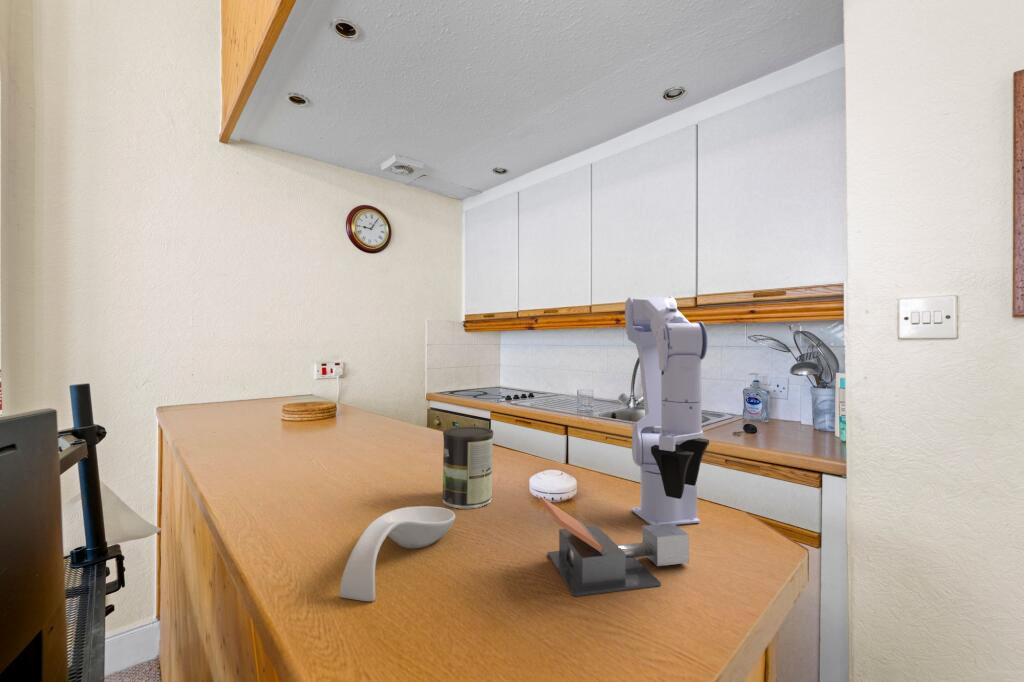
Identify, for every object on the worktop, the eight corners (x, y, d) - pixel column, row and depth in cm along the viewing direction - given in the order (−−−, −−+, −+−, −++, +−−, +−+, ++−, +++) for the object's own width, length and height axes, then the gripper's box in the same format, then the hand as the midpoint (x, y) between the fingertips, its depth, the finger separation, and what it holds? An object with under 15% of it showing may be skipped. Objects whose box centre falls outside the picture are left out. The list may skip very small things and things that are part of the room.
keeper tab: (578, 527, 63) (581, 522, 63) (605, 557, 54) (609, 550, 54) (537, 500, 61) (540, 495, 62) (557, 525, 52) (561, 519, 53)
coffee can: (439, 510, 80) (440, 436, 80) (444, 492, 90) (445, 426, 90) (493, 509, 81) (494, 435, 81) (491, 491, 91) (492, 426, 91)
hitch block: (620, 547, 65) (620, 520, 65) (660, 585, 54) (660, 553, 55) (547, 554, 62) (547, 527, 63) (574, 596, 52) (574, 563, 52)
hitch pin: (672, 549, 63) (672, 522, 63) (689, 562, 59) (688, 534, 59) (566, 560, 59) (566, 532, 60) (576, 575, 56) (576, 545, 56)
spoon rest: (401, 522, 75) (402, 481, 75) (464, 527, 72) (464, 486, 73) (314, 598, 51) (315, 539, 52) (402, 610, 49) (403, 548, 49)
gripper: (669, 395, 72) (669, 474, 72) (637, 402, 61) (637, 497, 60) (713, 398, 68) (713, 482, 67) (688, 406, 56) (689, 508, 56)
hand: (681, 490), depth 63 cm, fingers open, 7 cm apart
